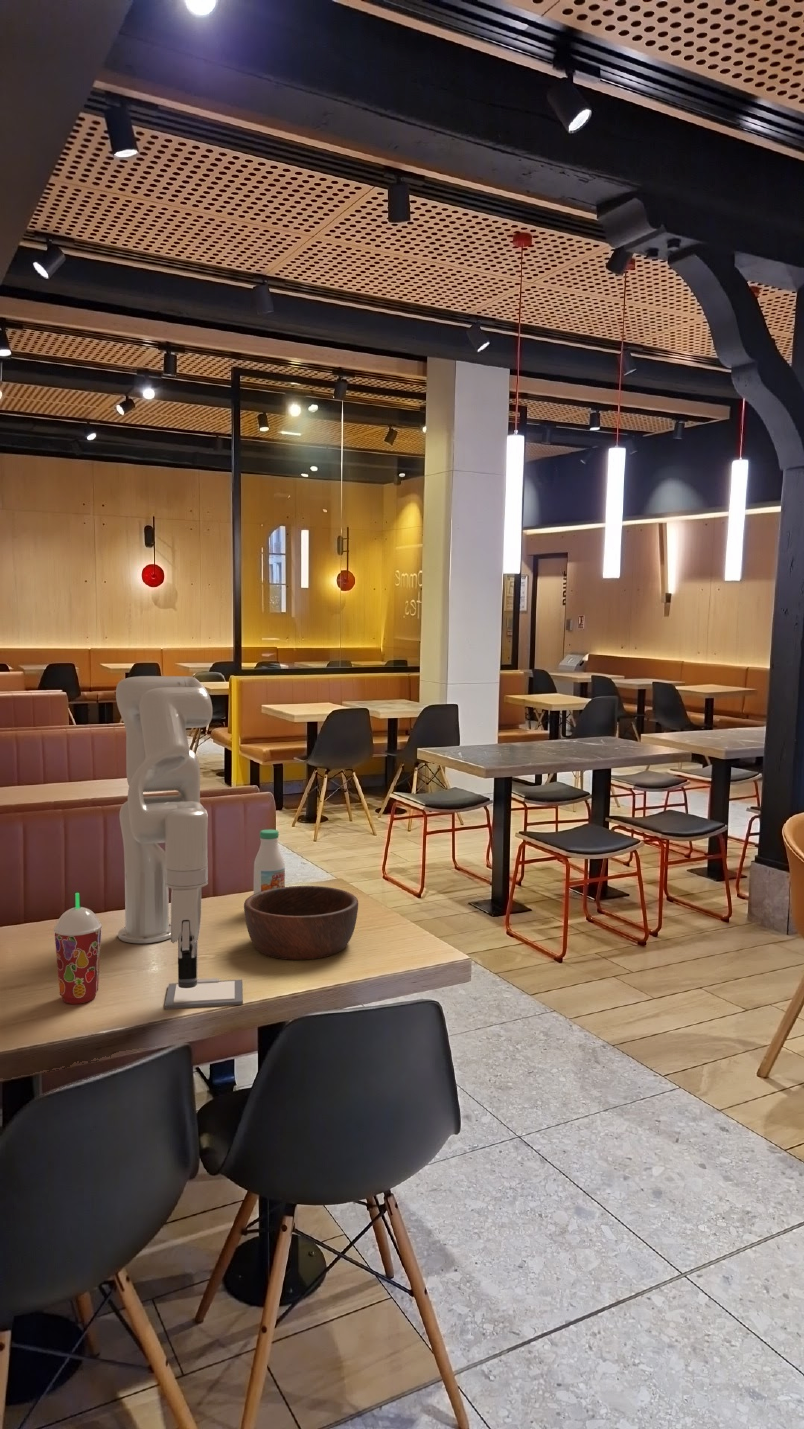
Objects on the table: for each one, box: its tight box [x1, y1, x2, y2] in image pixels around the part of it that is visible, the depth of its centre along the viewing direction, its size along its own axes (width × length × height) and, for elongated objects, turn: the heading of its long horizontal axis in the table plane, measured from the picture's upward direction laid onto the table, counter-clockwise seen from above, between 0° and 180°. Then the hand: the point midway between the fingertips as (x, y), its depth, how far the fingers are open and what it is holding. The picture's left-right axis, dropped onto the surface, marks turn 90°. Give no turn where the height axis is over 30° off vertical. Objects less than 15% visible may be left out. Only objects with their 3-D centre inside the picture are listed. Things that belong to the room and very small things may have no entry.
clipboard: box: [164, 977, 244, 1010], centre depth 172 cm, size 11×14×1 cm
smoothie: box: [53, 892, 103, 1005], centre depth 170 cm, size 8×8×20 cm
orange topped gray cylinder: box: [177, 937, 198, 988], centre depth 168 cm, size 4×4×11 cm
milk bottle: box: [253, 829, 286, 894], centre depth 227 cm, size 8×8×20 cm
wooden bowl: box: [243, 885, 359, 961], centre depth 201 cm, size 25×25×10 cm
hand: (187, 973), depth 168 cm, fingers closed on orange topped gray cylinder, 3 cm apart
